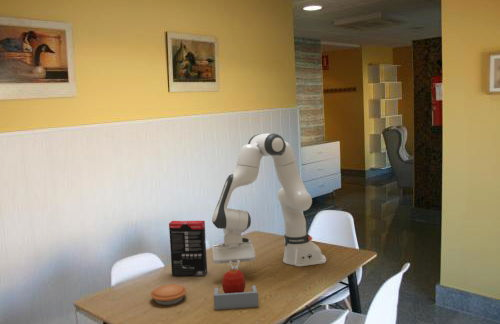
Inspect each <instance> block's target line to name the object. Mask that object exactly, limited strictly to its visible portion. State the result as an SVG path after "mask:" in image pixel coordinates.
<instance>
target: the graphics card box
mask: <svg viewBox="0 0 500 324" xmlns="http://www.w3.org/2000/svg"><path fill="white" fill-rule="evenodd" d="M168 230H169V232H168V233H169V244H170V245H169V246H170V263H171V265H170V266H171V276H173V277H176V276H177V277H179V276H180V277H205V276H206V274H207V273H208V263H207V262H208V261H207V260H208V259H207V258H208V257H207V243H206V241H207V240H206V222H205V220H172V221H170V222H169V223H168Z"/></svg>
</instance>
